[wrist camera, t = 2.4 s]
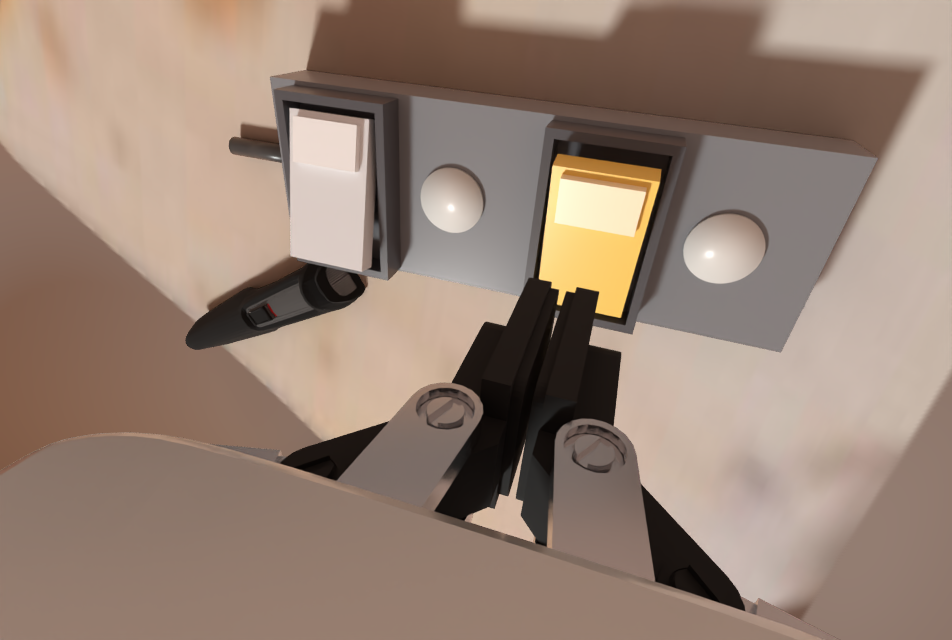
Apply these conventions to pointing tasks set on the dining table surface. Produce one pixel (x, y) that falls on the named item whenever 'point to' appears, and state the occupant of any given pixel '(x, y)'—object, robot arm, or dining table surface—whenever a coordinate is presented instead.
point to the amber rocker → (596, 227)
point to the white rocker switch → (332, 188)
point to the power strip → (602, 138)
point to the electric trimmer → (276, 306)
